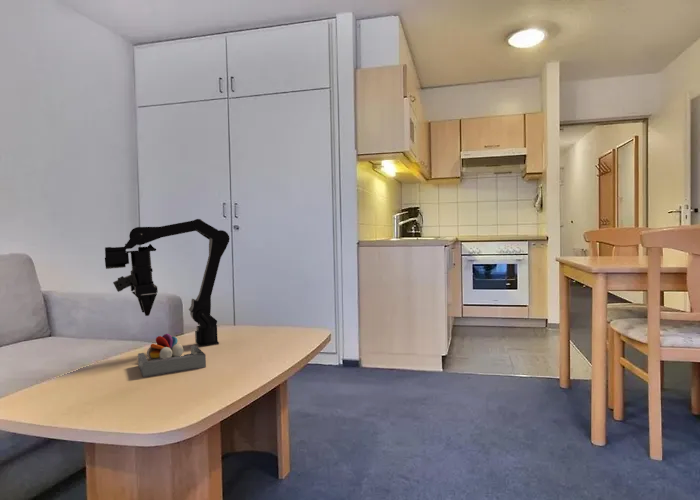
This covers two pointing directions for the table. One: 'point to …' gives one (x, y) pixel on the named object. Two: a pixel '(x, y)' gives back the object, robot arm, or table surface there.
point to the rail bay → (172, 363)
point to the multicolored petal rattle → (165, 347)
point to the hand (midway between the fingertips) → (145, 314)
